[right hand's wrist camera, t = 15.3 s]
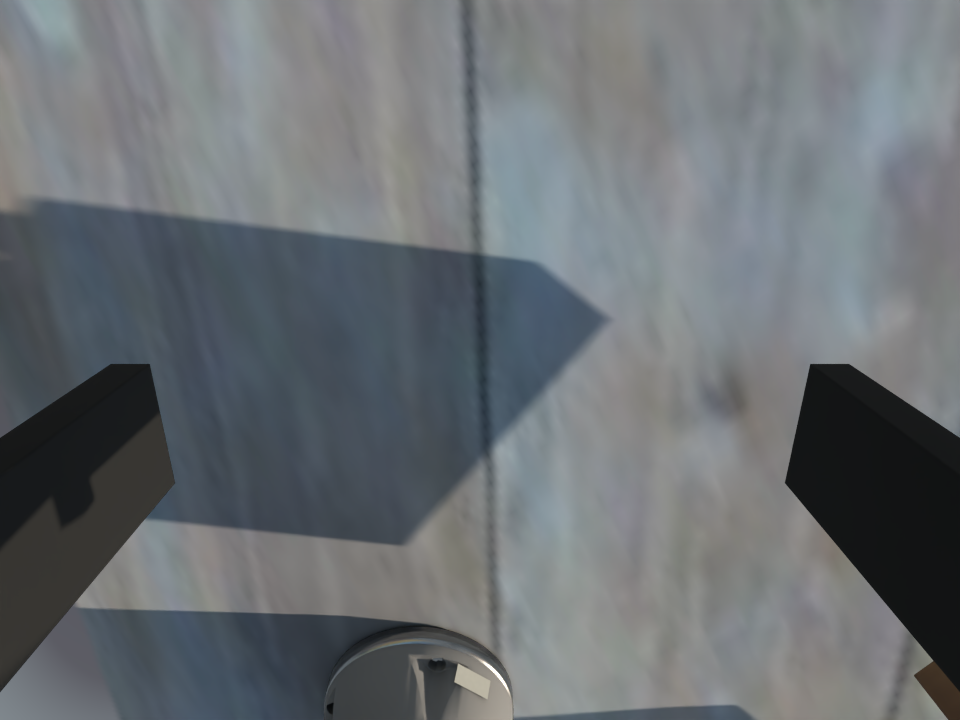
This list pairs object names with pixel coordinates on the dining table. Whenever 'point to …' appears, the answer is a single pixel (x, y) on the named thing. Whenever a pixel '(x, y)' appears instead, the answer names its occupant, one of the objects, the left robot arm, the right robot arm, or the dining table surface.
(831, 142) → the dining table surface
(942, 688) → the box
